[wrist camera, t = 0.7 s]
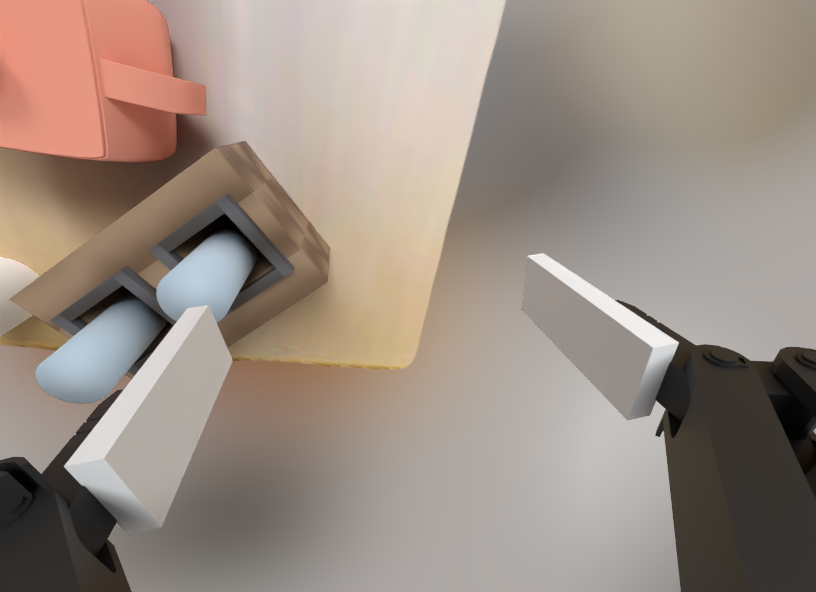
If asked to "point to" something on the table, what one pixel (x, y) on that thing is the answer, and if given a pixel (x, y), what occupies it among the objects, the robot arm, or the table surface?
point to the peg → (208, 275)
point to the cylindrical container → (13, 292)
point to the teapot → (90, 80)
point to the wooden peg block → (188, 250)
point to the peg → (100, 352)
